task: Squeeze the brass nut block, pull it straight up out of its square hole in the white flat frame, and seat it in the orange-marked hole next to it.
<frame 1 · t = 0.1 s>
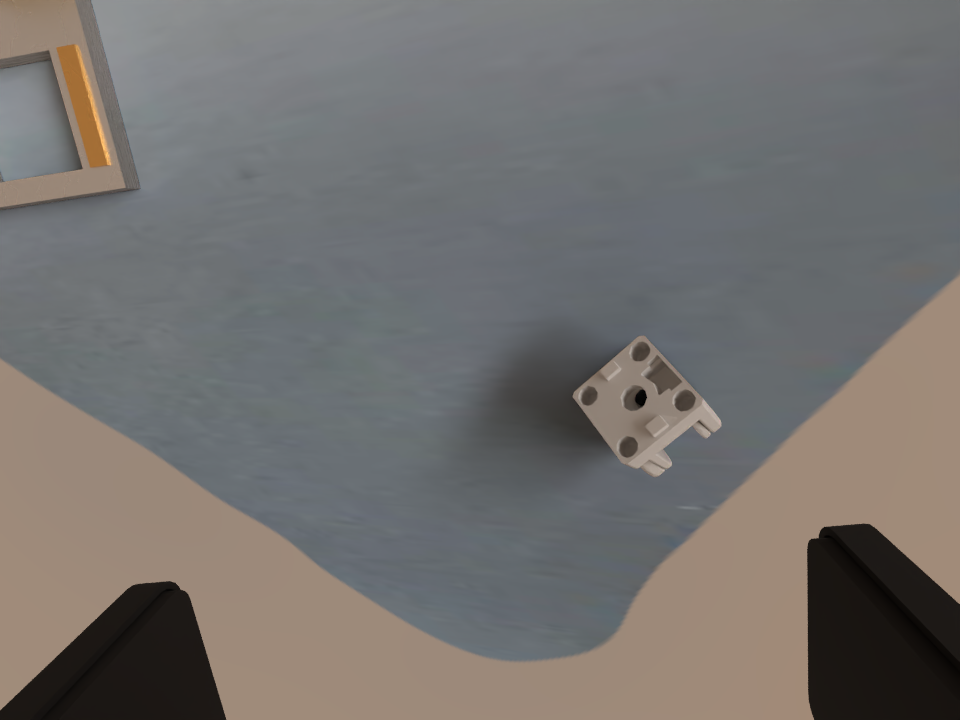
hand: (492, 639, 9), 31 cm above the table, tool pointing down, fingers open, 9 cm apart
mechanical component: (630, 380, 40), on the table
white flat frame: (7, 31, 37), on the table
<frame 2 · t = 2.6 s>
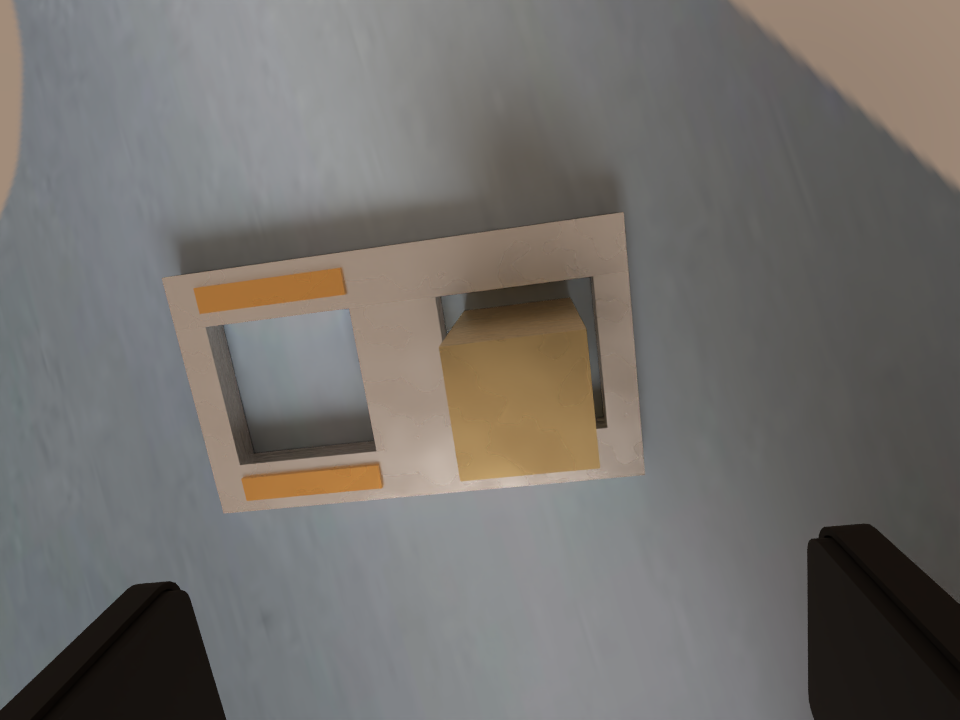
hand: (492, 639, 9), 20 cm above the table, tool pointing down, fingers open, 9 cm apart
brass nut block: (523, 355, 28), resting in white flat frame
white flat frame: (411, 368, 28), on the table
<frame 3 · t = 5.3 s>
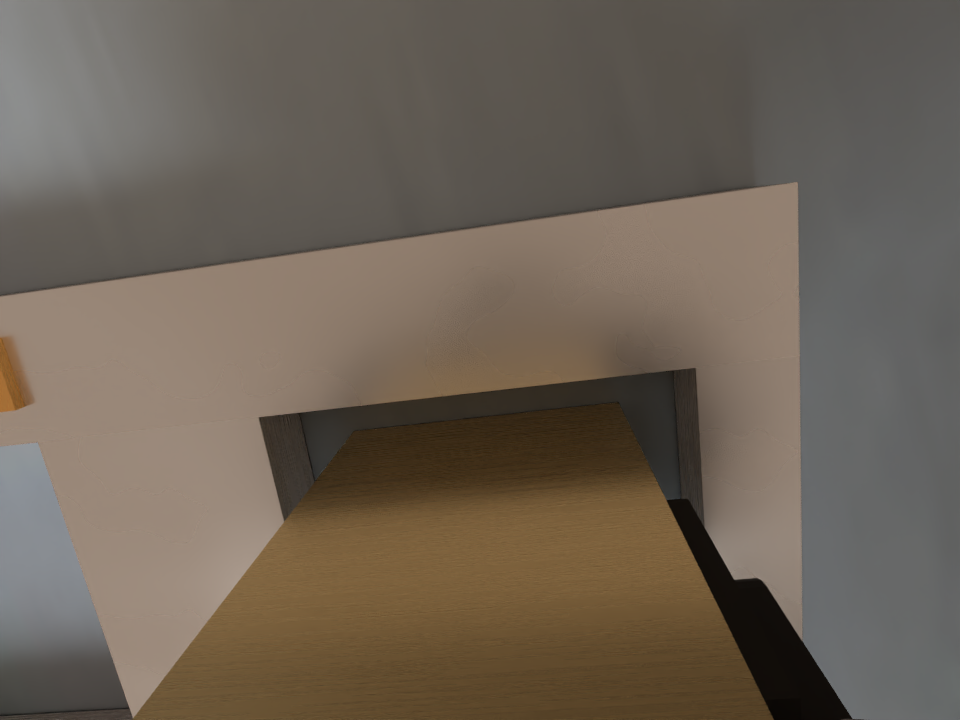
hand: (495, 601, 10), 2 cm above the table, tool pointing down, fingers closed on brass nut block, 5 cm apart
brass nut block: (500, 535, 11), resting in white flat frame, touching gripper
white flat frame: (238, 561, 12), on the table
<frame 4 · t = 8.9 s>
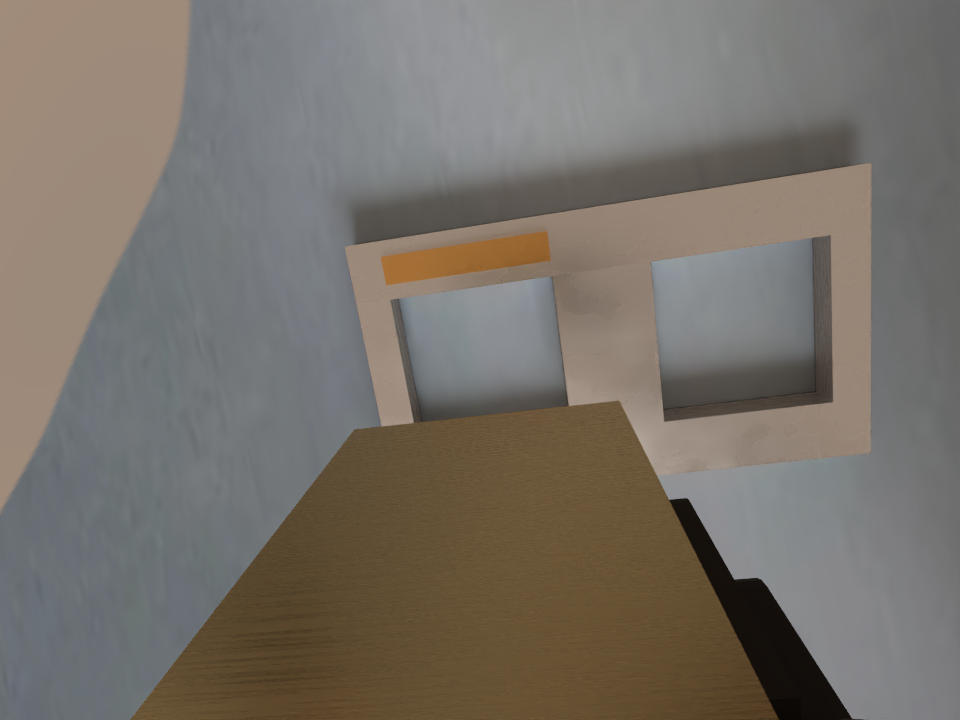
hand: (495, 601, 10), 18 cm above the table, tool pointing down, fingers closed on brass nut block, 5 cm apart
brass nut block: (501, 534, 11), point 16 cm above the table, touching gripper
white flat frame: (605, 342, 26), on the table
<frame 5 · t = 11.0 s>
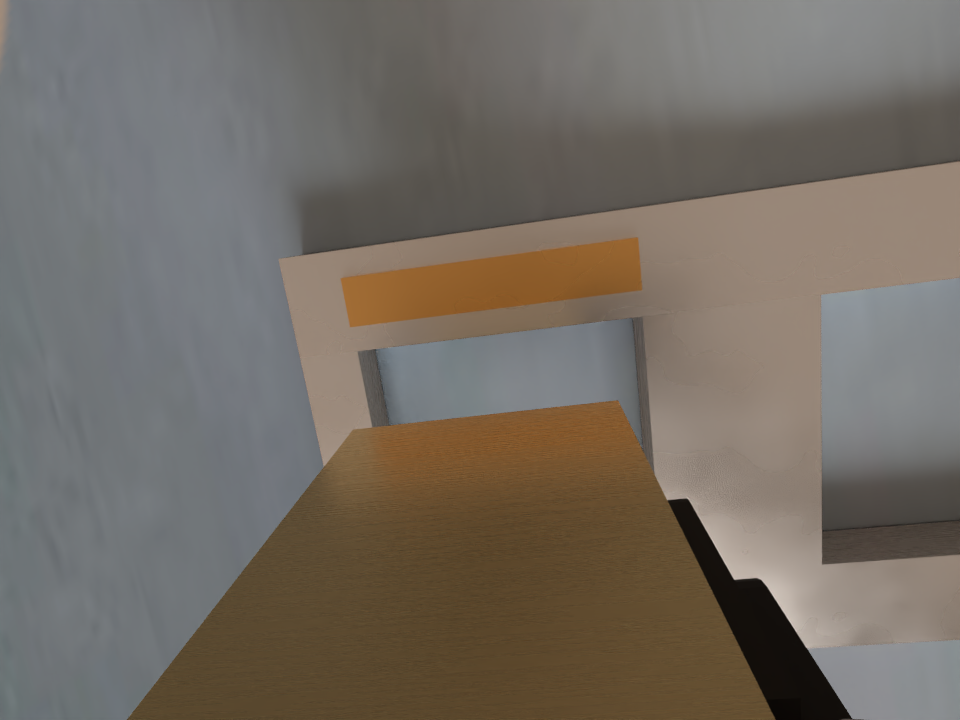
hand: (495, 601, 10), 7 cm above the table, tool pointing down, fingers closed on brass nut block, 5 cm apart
brass nut block: (500, 534, 11), point 5 cm above the table, touching gripper
white flat frame: (716, 424, 16), on the table
when the fingers open (3 cm above the table, at t = 12.7 s): brass nut block stays where it is, resting in white flat frame.
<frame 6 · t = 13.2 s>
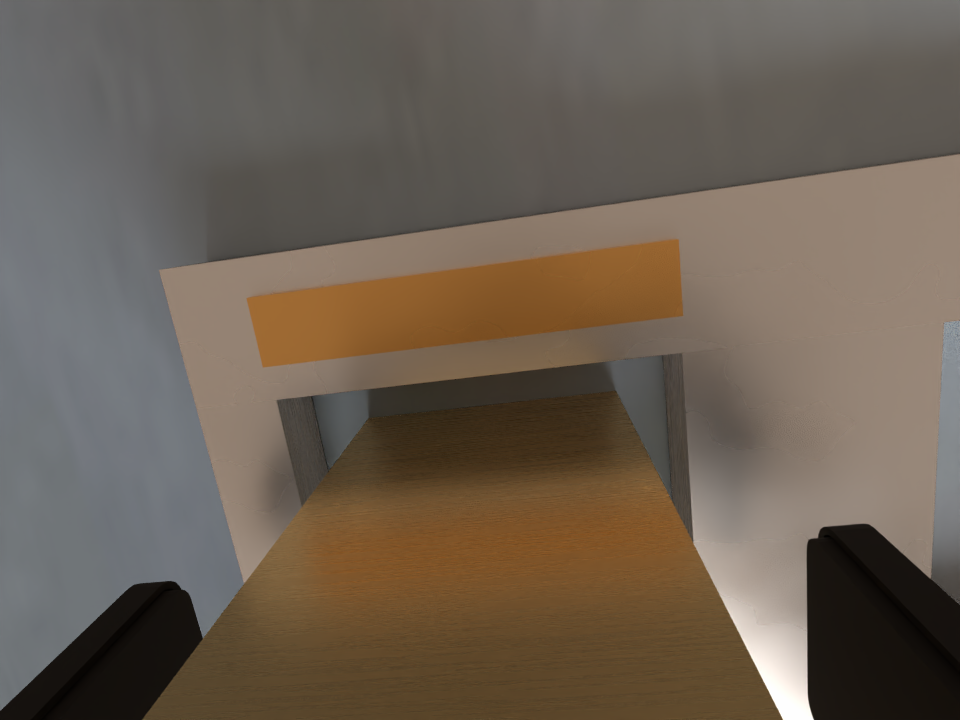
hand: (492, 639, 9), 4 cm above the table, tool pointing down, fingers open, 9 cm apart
brass nut block: (505, 516, 12), resting in white flat frame
white flat frame: (775, 492, 12), on the table
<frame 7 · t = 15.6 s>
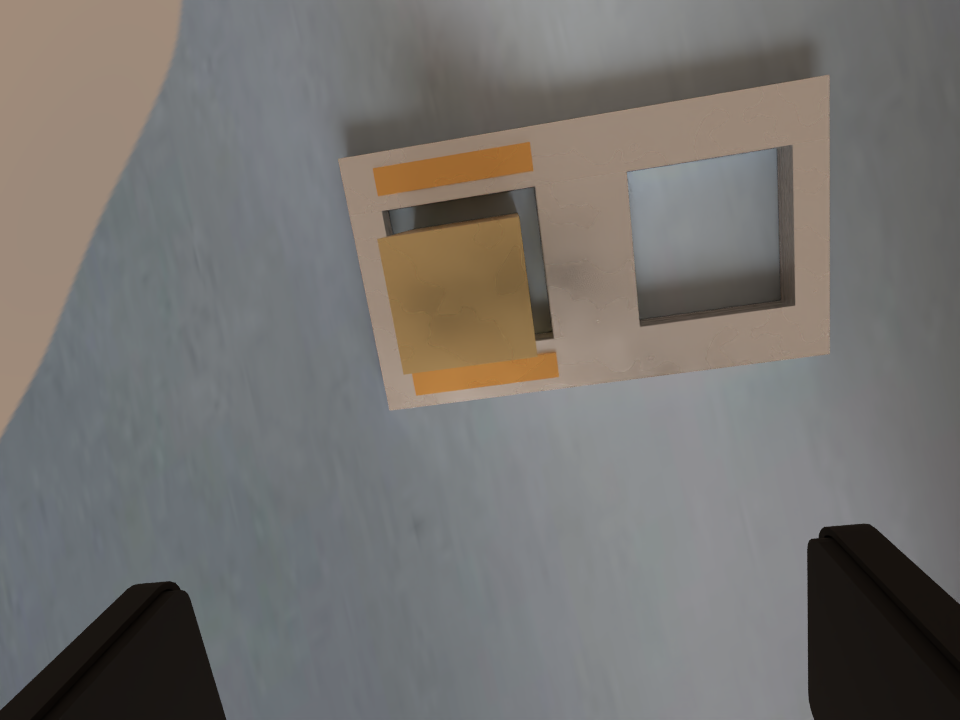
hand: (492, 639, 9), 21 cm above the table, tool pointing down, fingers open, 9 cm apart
brass nut block: (473, 272, 28), resting in white flat frame
white flat frame: (584, 255, 28), on the table
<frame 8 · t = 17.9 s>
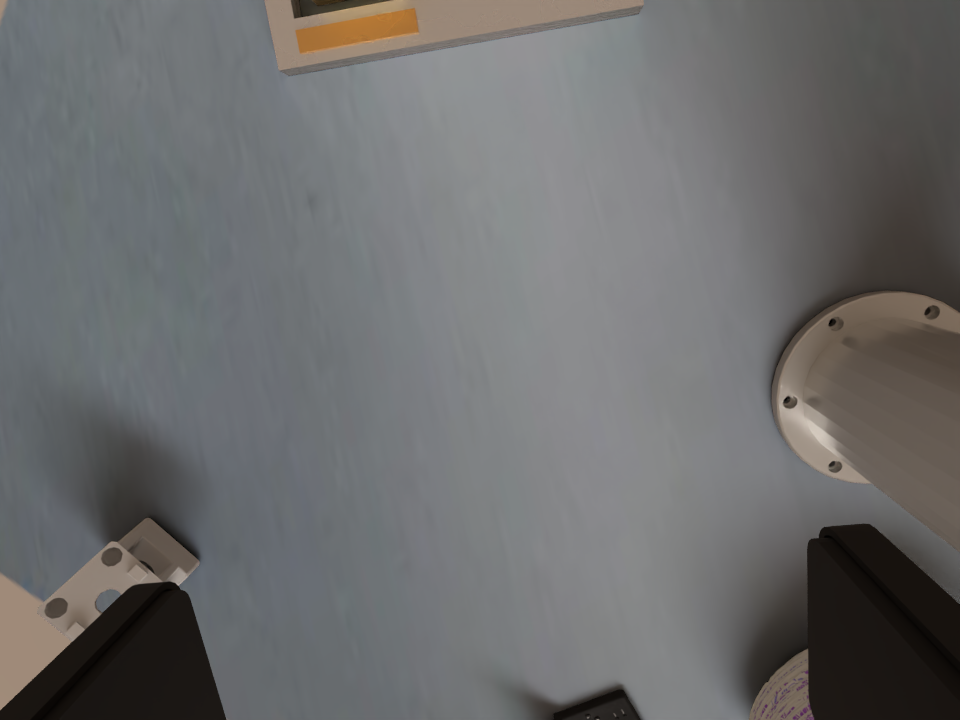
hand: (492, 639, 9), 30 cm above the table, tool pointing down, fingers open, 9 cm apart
mechanical component: (168, 546, 45), on the table
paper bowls: (834, 691, 44), on the table
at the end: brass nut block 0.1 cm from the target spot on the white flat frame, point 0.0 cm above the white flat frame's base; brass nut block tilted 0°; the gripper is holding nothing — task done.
